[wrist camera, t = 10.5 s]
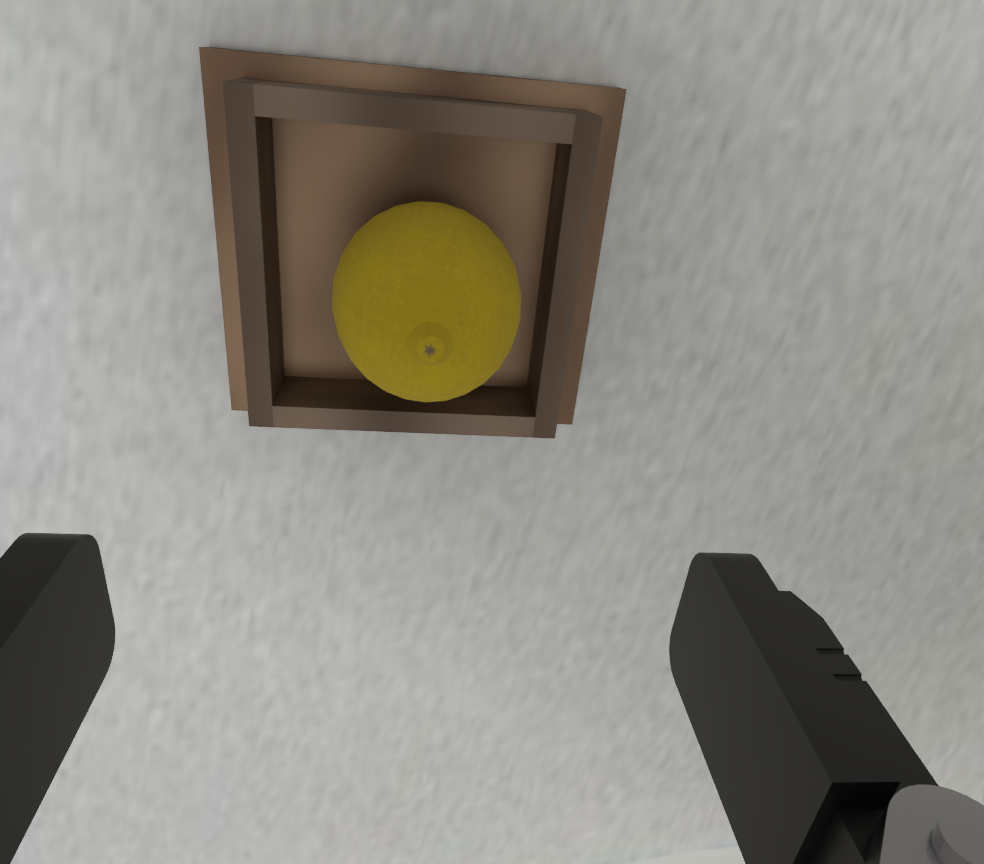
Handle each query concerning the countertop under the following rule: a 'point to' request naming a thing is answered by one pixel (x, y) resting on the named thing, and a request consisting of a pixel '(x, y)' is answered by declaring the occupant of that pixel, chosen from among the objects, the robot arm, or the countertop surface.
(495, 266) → the lemon
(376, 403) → the lemon stand
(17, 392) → the countertop surface
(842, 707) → the robot arm
